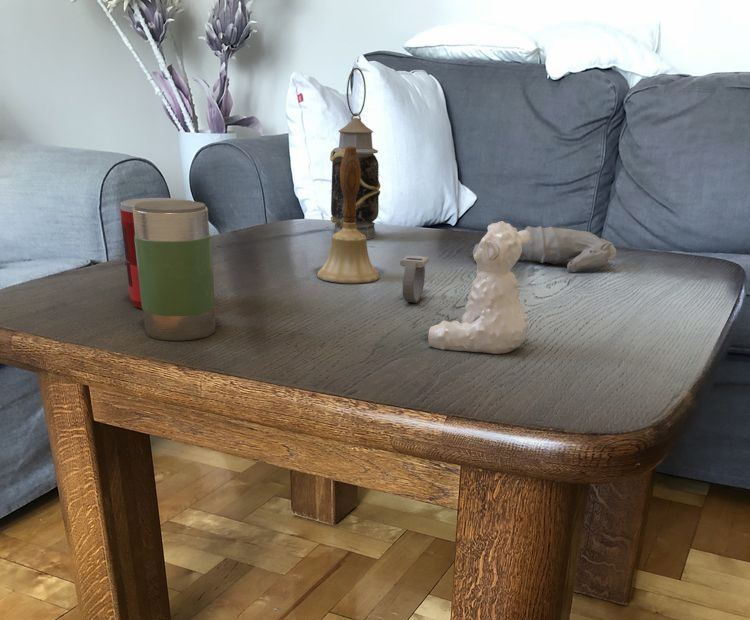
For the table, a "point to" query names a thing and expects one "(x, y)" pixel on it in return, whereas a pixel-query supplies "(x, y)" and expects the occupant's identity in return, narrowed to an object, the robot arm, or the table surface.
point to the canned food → (133, 245)
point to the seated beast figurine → (490, 299)
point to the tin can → (175, 269)
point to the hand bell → (349, 233)
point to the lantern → (369, 181)
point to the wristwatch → (413, 277)
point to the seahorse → (566, 248)
